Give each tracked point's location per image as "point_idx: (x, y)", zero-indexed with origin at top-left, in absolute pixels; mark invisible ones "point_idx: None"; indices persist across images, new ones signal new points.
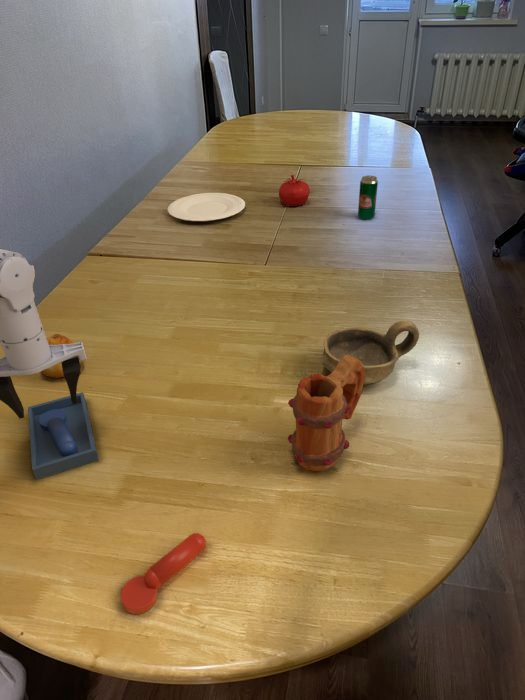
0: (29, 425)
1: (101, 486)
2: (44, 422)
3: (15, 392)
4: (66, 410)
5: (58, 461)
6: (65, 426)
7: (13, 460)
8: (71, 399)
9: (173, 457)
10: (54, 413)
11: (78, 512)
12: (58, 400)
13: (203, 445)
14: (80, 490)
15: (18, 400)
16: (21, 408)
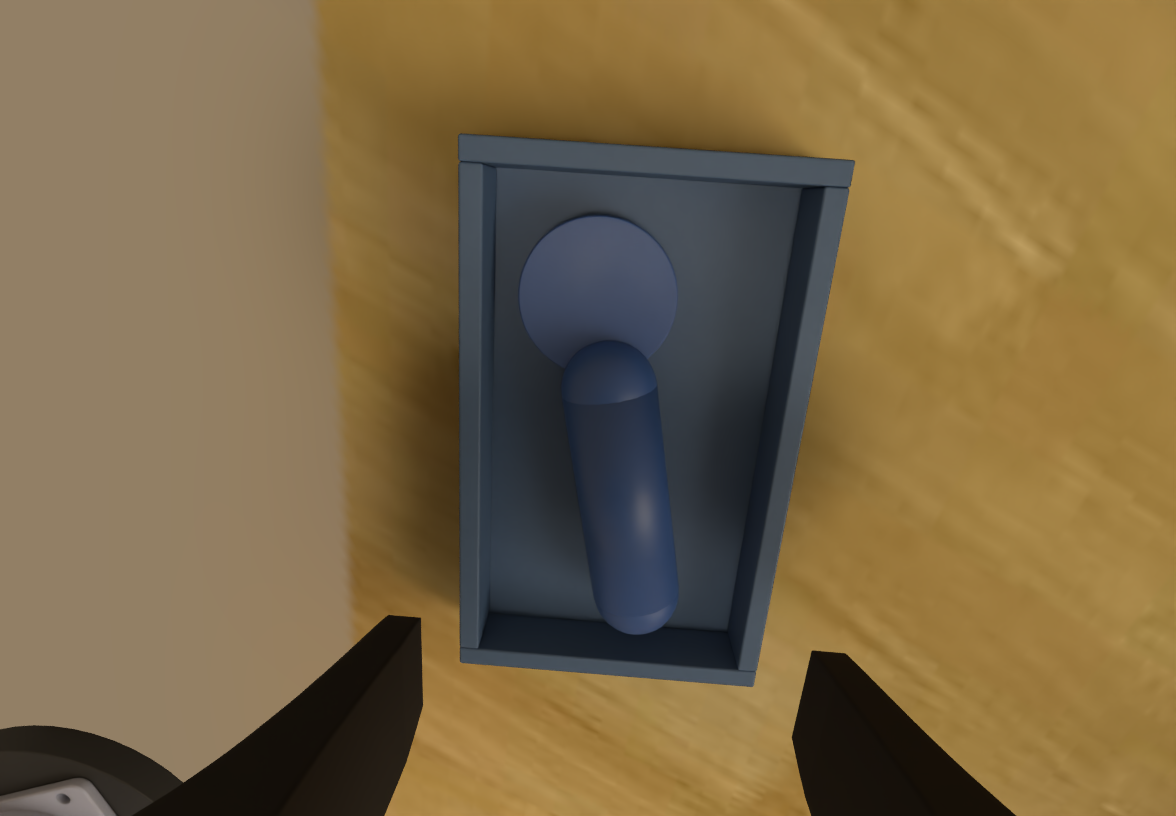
0: (461, 344)
1: (706, 753)
2: (548, 322)
3: (326, 780)
4: (690, 216)
5: (578, 671)
6: (659, 470)
7: (378, 456)
8: (810, 805)
9: (1016, 756)
10: (618, 266)
11: (602, 809)
12: (670, 169)
13: (1160, 758)
14: (629, 735)
15: (368, 743)
16: (400, 723)
